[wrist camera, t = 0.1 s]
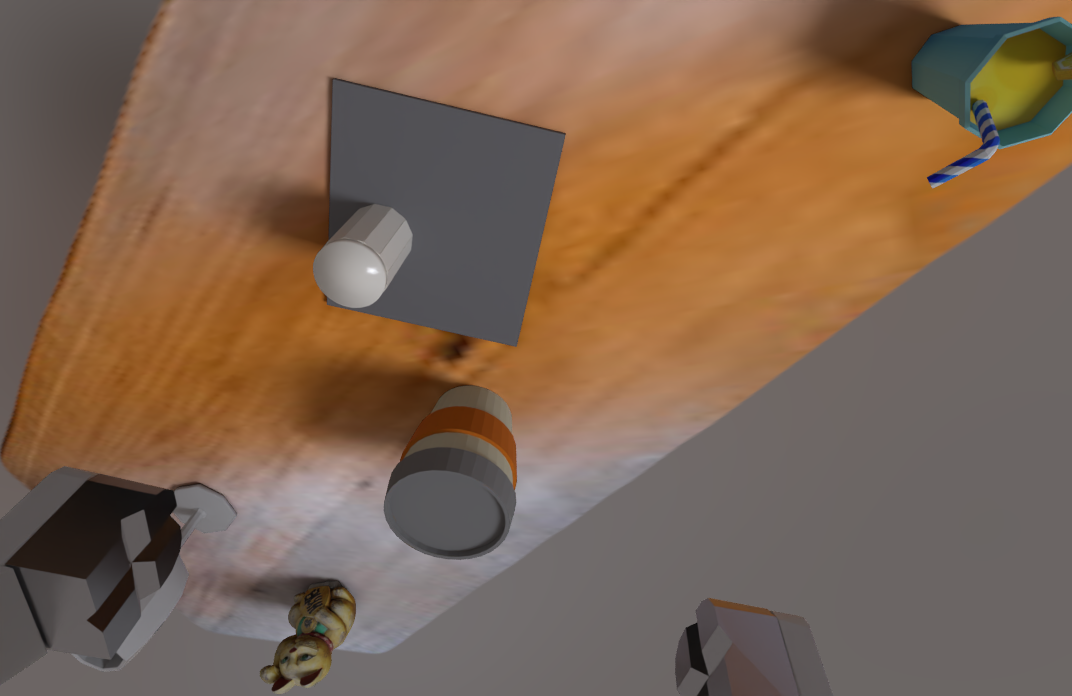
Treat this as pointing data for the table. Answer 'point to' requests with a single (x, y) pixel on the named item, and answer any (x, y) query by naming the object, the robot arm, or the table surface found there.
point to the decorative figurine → (311, 636)
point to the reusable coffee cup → (456, 478)
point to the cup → (998, 83)
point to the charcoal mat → (446, 204)
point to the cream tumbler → (363, 256)
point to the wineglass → (196, 512)
